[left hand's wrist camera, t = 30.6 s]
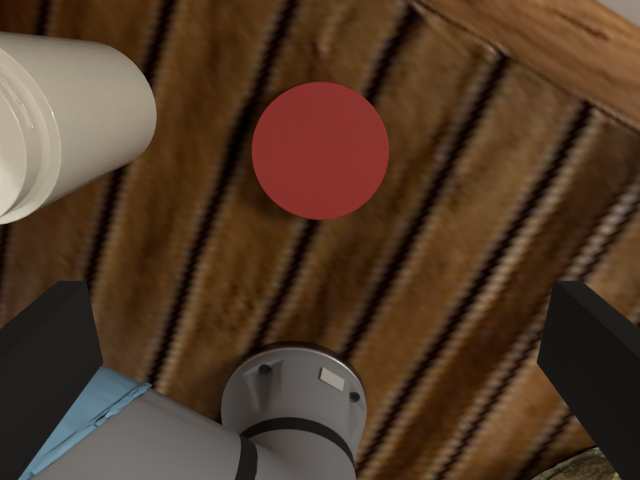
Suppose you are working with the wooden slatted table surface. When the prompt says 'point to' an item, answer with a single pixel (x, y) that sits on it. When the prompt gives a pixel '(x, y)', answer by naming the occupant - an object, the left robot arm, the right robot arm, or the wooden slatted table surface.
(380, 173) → the lid
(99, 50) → the jar
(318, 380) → the left robot arm
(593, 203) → the wooden slatted table surface
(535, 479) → the fossil
